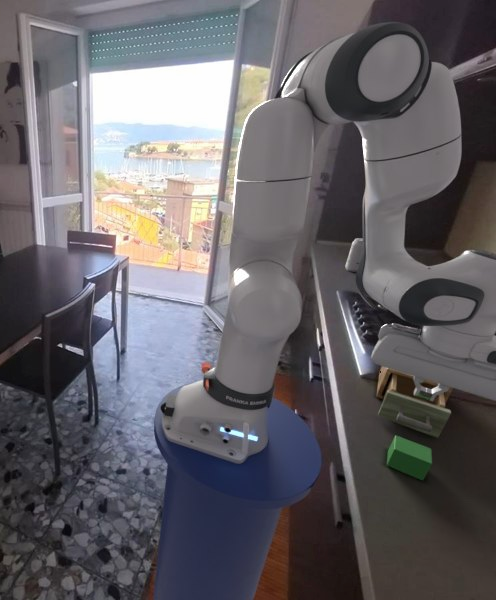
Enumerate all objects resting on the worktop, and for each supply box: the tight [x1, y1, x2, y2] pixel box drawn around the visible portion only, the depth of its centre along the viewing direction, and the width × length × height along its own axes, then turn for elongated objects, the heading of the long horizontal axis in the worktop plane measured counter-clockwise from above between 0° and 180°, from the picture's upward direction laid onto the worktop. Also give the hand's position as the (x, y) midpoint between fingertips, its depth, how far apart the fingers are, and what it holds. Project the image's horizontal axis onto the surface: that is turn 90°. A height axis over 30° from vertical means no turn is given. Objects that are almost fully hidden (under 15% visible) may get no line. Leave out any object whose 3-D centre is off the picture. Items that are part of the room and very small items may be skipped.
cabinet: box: [375, 366, 454, 404], centre depth 88 cm, size 14×12×9 cm
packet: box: [386, 435, 433, 481], centre depth 69 cm, size 4×6×4 cm
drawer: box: [377, 373, 452, 438], centre depth 79 cm, size 17×10×7 cm, turn 141°
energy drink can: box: [345, 237, 363, 273], centre depth 168 cm, size 6×6×15 cm
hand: (422, 397), depth 71 cm, fingers closed
